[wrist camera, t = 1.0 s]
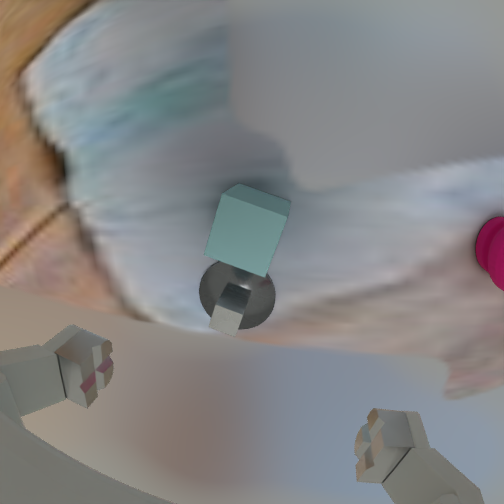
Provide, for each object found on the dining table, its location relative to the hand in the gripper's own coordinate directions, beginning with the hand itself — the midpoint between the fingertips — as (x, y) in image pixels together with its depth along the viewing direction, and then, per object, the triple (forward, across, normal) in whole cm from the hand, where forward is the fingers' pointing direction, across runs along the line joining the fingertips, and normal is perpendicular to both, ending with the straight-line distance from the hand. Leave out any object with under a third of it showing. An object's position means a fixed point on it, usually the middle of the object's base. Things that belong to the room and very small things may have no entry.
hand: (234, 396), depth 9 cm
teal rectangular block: (+23, +3, 0) cm, 24 cm away
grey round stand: (+24, +4, +8) cm, 25 cm away
